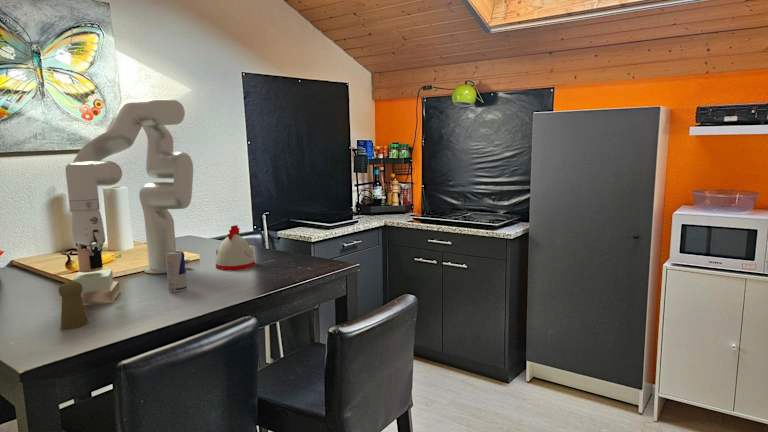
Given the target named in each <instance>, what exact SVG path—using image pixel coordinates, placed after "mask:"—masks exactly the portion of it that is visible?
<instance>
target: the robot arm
mask: <svg viewBox="0 0 768 432" xmlns="http://www.w3.org/2000/svg"><path fill="white" fill-rule="evenodd" d="M185 114H186V112H185V108H184V106H183V104H182V103H181V102H180V101H178V100H176V99H158V98H157V99H156V98H146V99H143V98H142V99H128V100H125V101H123V102H122V103H121V104H120V105H119V107H118V108H117V111H116V112H115V114H114V116H113V118H112V119H111V121H110V122H109V124H108V126H107V128H106V129H105V131H103V132H102V133H100V134H99V135H97V136H96V137H94V138H93V139H92V140H90V141H89V142H88V143H86V144H85V145H84V146H83V147H81V149H80V150H78V153H77V154H76V156H75V158H73V159H74V160H73V161H72V162H71V163H68V164H66V166H65V179H66V187H67V188H66V189H67V195H68V206H69V212H70V213H71V230H72V238H73V242H74V243H75V247H76V252H77V251H78V250H81V249H86V248H89V251H90V256H89V260H90V268H91V269H96V268H101V267H102V266H103V257H102V255H103V251H102V250H103V246H104V244H105V243H106V235H105V234H106V233H105V227H104V223H103V218H102V214H101V211H100V210H101V208H100V198H99V188H98V187H105V186H106V187H110V186H114V185H116V184H118V183H119V182H120V181H121V180H122V176H123V170H122V168H121V166H120V165H119V163H116V162H115V161H113V160H112V161H111V160H104V159H106V158H107V157H111V156H112V155H116V154H117V153H118V154H119V153H120V152H123V151H126V150H127V149H130V148H131V147H133V144H134V143H135V140H136V139H137V137H138V135H139V133H140V131H141V130H142V129H143V130H144V132H145V134H146V137H147V147H146V163H145V164H146V166H145V167H146V173H147V175H148V176H149V177H151V178H152V179H159V180H168V179H169V180H170V179H172V180H173V181H172V182H167V181H166V182H165V181H161V182H160V181H153V182H148V183H146V184H144V185H143V186H141V188H140V190H139V195H138V196H139V202H140V205H141V208H142V211H143V216H144V217H143V218H144V224H145V225H144V226H145V228H144V229H145V238H146V241H145V242H146V251H147V262H148V263H147V264H148V266H149V267H147V266H145V267H146V268H145V267H144V269H143V270H144V273H146V274H167V267H166V253H167V252H170V251H177V245H176V244H177V243H176V235H175V234H176V232H175V221H174V218H173V216H172V213H170V210H184V209H186V208H188V207H189V206H190V204H191V203H192V196H193V182H194V181H193V179H194V163H193V160H192V157H191V156H190V155H189V154H188V153H187V152H184V151H174V137H173V135H172V133H171V132H170V130H169V129H168V128H167V127H166V126H174V125H175V126H177V125H179V124H181V123H182V122H183V121H184V119H185ZM93 248H94V249H93ZM186 264H191V259H190V257H185V265H186Z"/></svg>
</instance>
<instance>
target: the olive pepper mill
mask: <svg viewBox="0 0 768 432" xmlns="http://www.w3.org/2000/svg"><path fill="white" fill-rule="evenodd" d="M82 290H83V289H82V285H81V283H79V282H73V281H67V282H64V283H62V284H60V285H59V287H58V294H59V296H60V297H61V313H60V316H61V317H60V329H63V330H70V329H71V330H72V329H78V328H82V327H84V326H87V325H88V324H89V322H88V321H89V320H88V317H87V314H86V313H87V312H86V310H85V305H83V302H82V298H81V293H82Z"/></svg>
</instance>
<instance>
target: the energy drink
mask: <svg viewBox="0 0 768 432" xmlns="http://www.w3.org/2000/svg"><path fill="white" fill-rule="evenodd" d="M185 258H186V257H185V253H184V250H176V251H170V252H167V253H166V267H167V273H166V277H167V287H168V288H167V289H168V290H167V291H168V292H170V293H180V292H184V291H186V290H187V288H188V285H187V283H188V282H187V275H186V274H187V273H186V264H185Z"/></svg>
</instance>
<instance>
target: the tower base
mask: <svg viewBox="0 0 768 432" xmlns="http://www.w3.org/2000/svg"><path fill="white" fill-rule="evenodd" d="M120 293H121V288H120V281H119V280H118V281H113V284H112V286H111V288H110V289H109V290H100V291H91V292H82V293H81V298H82V302H83V305H84V306H91V305H92V304H94V305H101V304H103V303H104V304H112V303H114V301H115V300H116V299H117V297H118V296H119V295H120ZM115 298H116V299H115ZM92 306H93V305H92Z"/></svg>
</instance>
